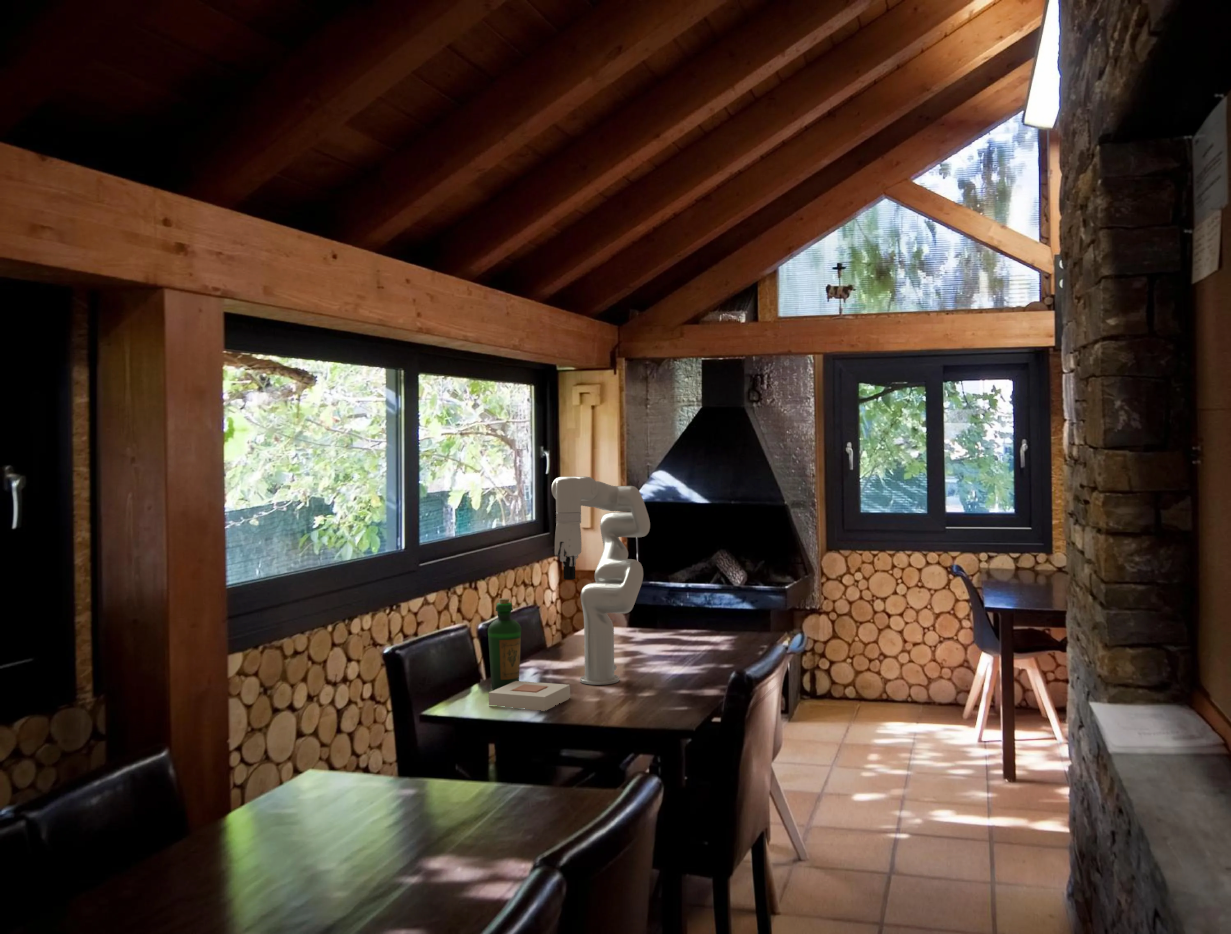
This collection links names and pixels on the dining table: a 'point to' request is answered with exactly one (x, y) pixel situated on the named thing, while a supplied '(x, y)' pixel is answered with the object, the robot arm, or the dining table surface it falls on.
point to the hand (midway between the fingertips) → (569, 579)
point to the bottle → (504, 646)
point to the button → (530, 688)
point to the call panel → (530, 696)
